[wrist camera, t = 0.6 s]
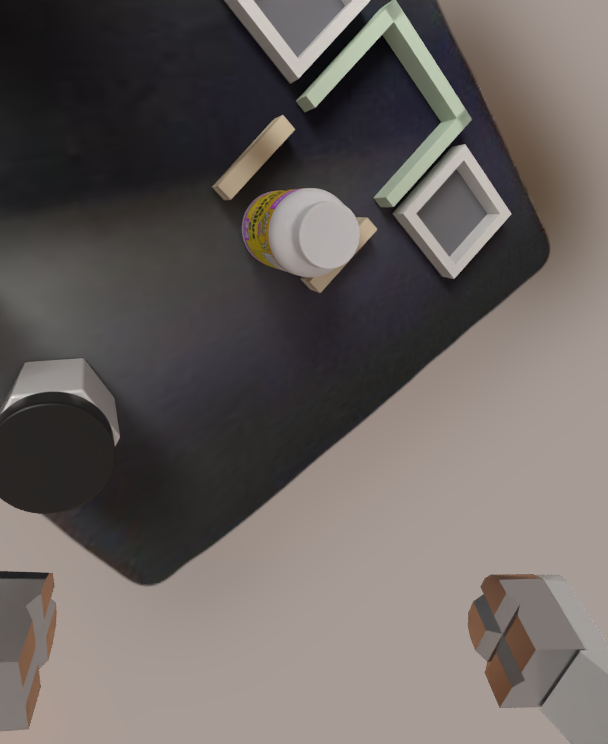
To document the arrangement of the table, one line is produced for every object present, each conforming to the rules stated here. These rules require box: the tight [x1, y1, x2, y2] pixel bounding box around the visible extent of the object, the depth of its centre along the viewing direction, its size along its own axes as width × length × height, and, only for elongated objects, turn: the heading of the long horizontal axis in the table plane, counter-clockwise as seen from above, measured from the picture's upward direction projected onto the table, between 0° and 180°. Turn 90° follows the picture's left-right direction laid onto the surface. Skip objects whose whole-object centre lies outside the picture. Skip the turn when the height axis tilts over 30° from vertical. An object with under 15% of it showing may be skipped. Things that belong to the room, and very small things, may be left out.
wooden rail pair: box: [212, 115, 377, 293], centre depth 49 cm, size 8×13×2 cm, turn 45°
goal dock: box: [296, 0, 472, 207], centre depth 49 cm, size 11×12×2 cm
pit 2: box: [392, 144, 511, 279], centre depth 55 cm, size 9×9×2 cm
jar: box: [0, 358, 120, 514], centre depth 42 cm, size 9×8×12 cm
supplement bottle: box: [242, 188, 360, 277], centre depth 44 cm, size 7×7×13 cm
